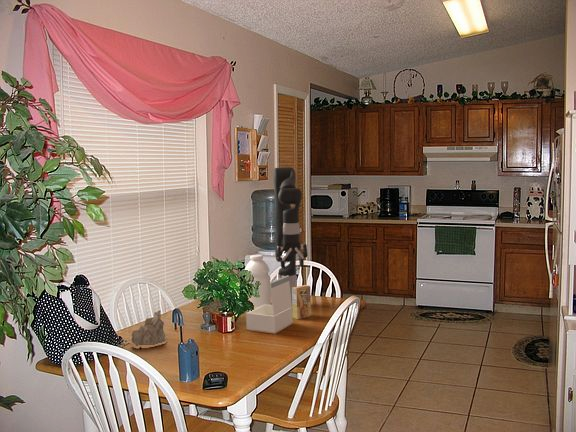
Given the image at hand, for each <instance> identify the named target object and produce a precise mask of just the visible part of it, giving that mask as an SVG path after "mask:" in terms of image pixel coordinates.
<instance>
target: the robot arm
mask: <svg viewBox="0 0 576 432" xmlns="http://www.w3.org/2000/svg"><path fill="white" fill-rule="evenodd" d="M296 177H297V175H296V171H295V169H294V167H289V166H288V167H287V166H286V167H285V166H284V167H274V169H273V171H272V178H273V191H274V192H273V194H274V225H275V226H274V227H275V248H274V249H275V251H274V252H275V253H274V255H275V260H276V262H278V263H280V268H279V270H278V279H280V278H283V277H285V276H287V275H289V284H290V293H291V302H292V288H293V287H298V285H297V256H298V258H299V263H298V264H299V265H298V266H299V267H300V268H303V267H304V266H305V261H304V259H305V258H308V245H307V244H306V243H302V244H301V243H300V242H301V241H300V240H301V239H300V238H301V237H300V232H301V230H300V229H301V228H300V223H299V222H300V221H299V215H300V214H299V211H300V207H301V202H302V197H303V191H301V189H300V188H298V187H297V186H296V184H297V183H296V182H297V179H296ZM291 205H293V206H291ZM300 249H301V250H302V252H301V251H300ZM286 263H288V264H287V265H286Z"/></svg>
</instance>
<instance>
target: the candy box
mask: <svg viewBox="0 0 576 432" xmlns="http://www.w3.org/2000/svg"><path fill="white" fill-rule="evenodd" d="M311 305H312V304H311V285H308V284H303V285H297V287H293V288H292V319H294V320H301V319H304V318H309V317H311V316H312V312H311V311H312V306H311Z"/></svg>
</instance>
